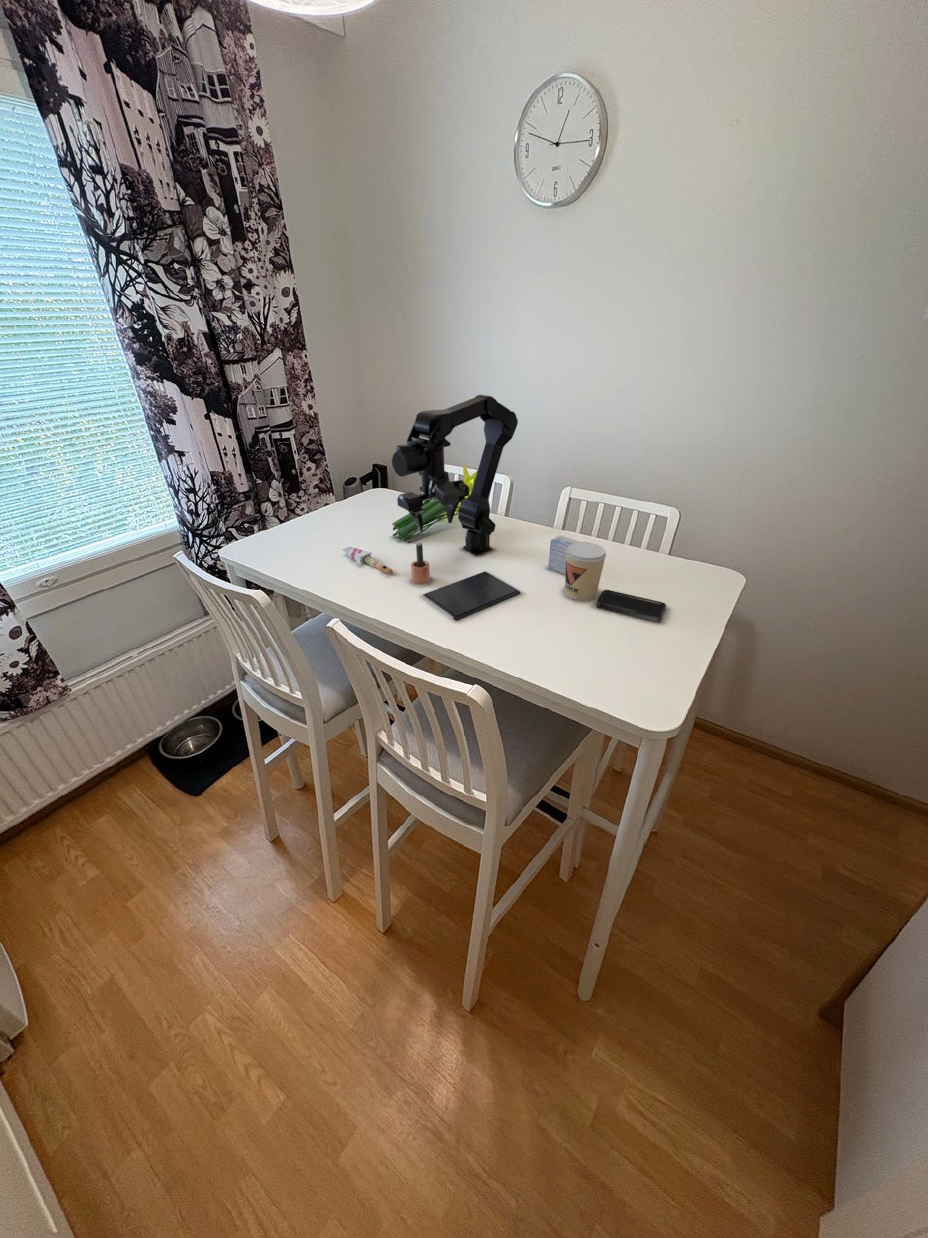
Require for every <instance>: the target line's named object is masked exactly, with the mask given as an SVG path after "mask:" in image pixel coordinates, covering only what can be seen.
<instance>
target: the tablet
mask: <svg viewBox="0 0 928 1238" xmlns="http://www.w3.org/2000/svg"><path fill="white" fill-rule="evenodd" d="M422 595H423V597H425V598H426V599H427V600H429V601H430V602H432V603H433V604H434V605H436V606H437V607H438V608H440V609H441V610H443V611H444V612H446V613H447V614H448V615H450V616H451V617H453V618H452V619H453V620H454V621H456V622H458V621H460V620H462V619H465V618H467V617H470V616H472V615H474V614H476V613H479V612H481V611H483V610H485V609H489V608H491V607H493V606H495V605H498V604H501V603H503V602H504V601H507V600H510V599H513V598H514V597H516V596H519V595H521V591H520V590H518V589H517V588H515V587H514V586H512V585H510V584H508V583H507V582H504V581H503V580H501V579H499V578H497V577H496V576H495V575H492V574H490V573H489V572H487V571H482V572H480V573H476V574H474V575H471V576H469V577H467V578H464V579H461V580H458V581H456V582H453V583H450V584H447V585H445V586H441V587H439V588H437V589H434V590H432V591H428V592H426V593H423V594H422Z"/></svg>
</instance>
